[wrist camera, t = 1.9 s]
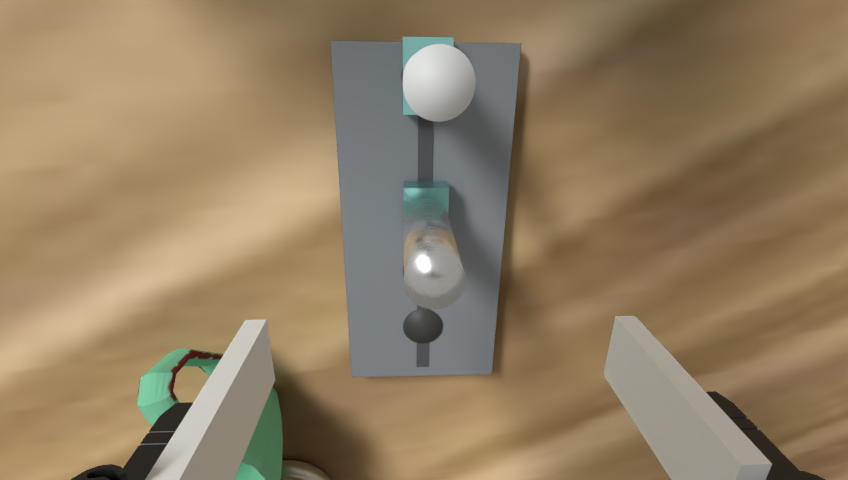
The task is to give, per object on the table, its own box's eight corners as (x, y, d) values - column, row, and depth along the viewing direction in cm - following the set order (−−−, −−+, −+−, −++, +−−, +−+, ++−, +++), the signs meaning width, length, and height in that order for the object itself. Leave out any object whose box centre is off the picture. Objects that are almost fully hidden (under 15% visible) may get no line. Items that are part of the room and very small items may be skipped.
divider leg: (403, 181, 30) (403, 240, 20) (446, 181, 30) (468, 240, 20) (403, 239, 32) (404, 321, 22) (444, 239, 32) (463, 320, 22)
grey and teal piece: (333, 38, 28) (284, 21, 17) (515, 41, 29) (591, 26, 17) (353, 365, 38) (331, 497, 27) (488, 363, 39) (524, 491, 27)
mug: (321, 424, 41) (297, 531, 31) (223, 448, 41) (170, 559, 32) (259, 293, 35) (208, 375, 26) (147, 322, 36) (57, 413, 26)
